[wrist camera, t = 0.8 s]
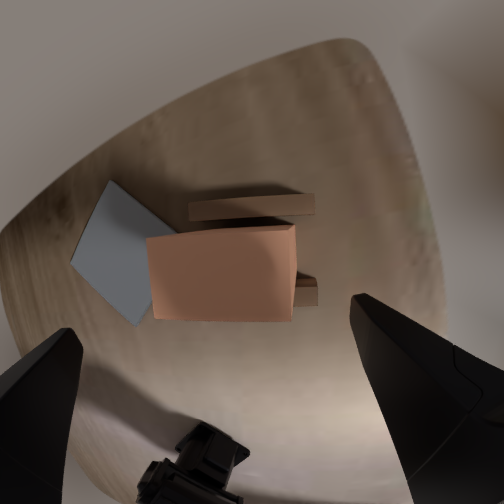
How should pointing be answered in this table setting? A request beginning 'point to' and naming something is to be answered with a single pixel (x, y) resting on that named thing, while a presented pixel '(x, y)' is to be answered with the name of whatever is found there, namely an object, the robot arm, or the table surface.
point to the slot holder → (262, 208)
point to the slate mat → (119, 251)
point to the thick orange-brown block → (224, 274)
